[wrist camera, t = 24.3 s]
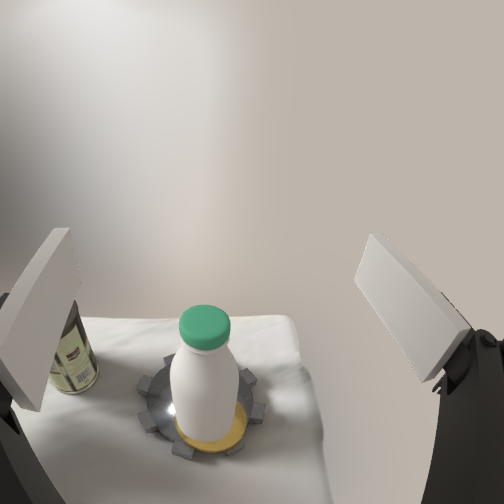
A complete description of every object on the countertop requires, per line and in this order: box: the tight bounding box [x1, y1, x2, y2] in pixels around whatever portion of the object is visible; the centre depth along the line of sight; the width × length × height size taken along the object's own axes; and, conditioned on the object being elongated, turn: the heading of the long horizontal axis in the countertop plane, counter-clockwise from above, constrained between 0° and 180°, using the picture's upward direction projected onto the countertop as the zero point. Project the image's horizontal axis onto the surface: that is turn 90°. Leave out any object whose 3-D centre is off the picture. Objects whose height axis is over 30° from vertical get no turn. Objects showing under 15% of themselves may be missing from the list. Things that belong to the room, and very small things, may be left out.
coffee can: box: [48, 300, 99, 394], centre depth 38 cm, size 10×10×14 cm
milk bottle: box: [170, 305, 239, 442], centre depth 31 cm, size 8×8×20 cm
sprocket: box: [137, 353, 265, 460], centre depth 37 cm, size 20×20×14 cm
